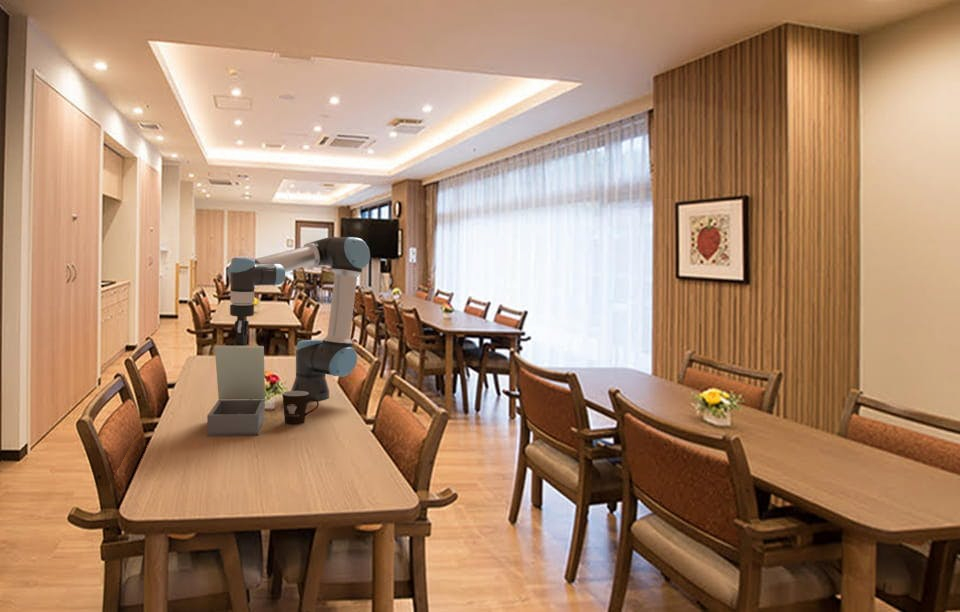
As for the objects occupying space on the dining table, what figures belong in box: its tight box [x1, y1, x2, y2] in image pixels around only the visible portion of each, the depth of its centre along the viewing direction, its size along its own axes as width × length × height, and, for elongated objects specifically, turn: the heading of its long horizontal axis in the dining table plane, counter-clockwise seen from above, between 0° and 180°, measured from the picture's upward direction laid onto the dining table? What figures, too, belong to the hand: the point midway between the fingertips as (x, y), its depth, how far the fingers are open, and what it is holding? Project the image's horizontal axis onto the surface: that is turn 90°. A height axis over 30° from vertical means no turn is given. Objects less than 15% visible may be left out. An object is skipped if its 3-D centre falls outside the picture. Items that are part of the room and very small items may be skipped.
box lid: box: [214, 344, 266, 401], centre depth 222 cm, size 15×22×1 cm
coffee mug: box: [281, 390, 320, 426], centre depth 225 cm, size 12×9×10 cm
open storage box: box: [206, 399, 266, 437], centre depth 217 cm, size 15×22×6 cm
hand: (240, 373), depth 223 cm, fingers closed
